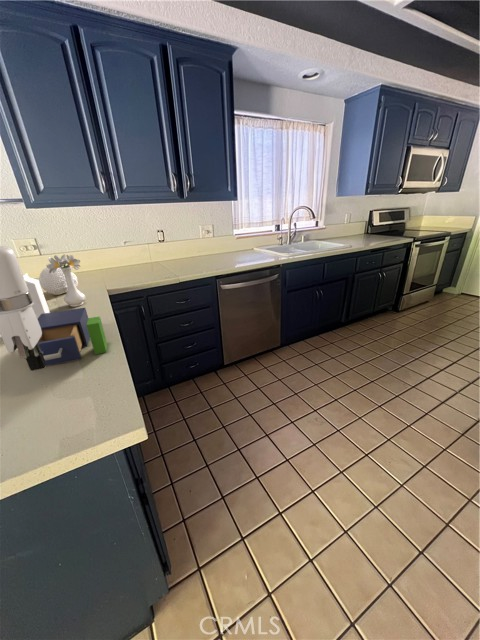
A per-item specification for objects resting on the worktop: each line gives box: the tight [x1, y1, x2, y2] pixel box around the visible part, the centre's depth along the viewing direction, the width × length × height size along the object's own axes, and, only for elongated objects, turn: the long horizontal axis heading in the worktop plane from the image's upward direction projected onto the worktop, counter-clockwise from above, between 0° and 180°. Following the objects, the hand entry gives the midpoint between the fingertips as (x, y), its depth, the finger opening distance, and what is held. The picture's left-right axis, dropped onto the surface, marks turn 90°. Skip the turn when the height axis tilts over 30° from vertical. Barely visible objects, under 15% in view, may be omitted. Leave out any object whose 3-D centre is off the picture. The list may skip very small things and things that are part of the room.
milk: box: [23, 272, 51, 319], centre depth 106 cm, size 6×6×22 cm
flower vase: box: [46, 254, 87, 308], centre depth 129 cm, size 13×18×25 cm
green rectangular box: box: [87, 316, 108, 355], centre depth 89 cm, size 4×6×11 cm, turn 22°
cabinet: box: [38, 307, 90, 348], centre depth 96 cm, size 15×15×10 cm
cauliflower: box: [38, 267, 79, 296], centre depth 151 cm, size 20×18×16 cm
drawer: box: [39, 324, 83, 367], centre depth 84 cm, size 18×13×8 cm
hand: (38, 367), depth 69 cm, fingers closed
